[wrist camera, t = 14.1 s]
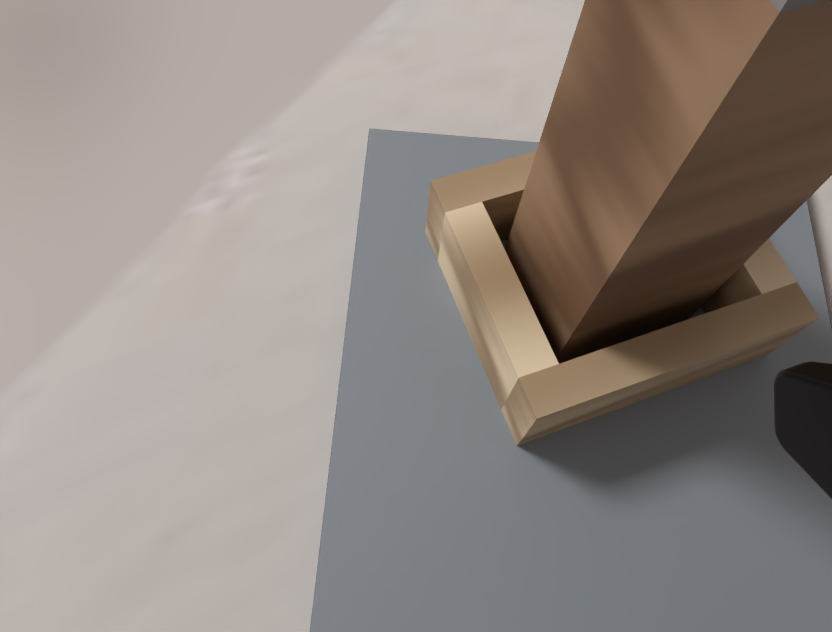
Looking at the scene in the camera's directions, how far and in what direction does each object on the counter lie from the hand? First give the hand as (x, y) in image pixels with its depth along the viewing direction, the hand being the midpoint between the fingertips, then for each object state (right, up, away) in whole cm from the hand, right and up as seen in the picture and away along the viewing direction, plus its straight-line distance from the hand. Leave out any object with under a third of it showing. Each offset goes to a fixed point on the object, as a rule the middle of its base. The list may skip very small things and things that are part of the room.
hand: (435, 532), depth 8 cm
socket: (+6, +3, +15) cm, 17 cm away
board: (+5, +1, +15) cm, 16 cm away
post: (+6, +3, +15) cm, 17 cm away
